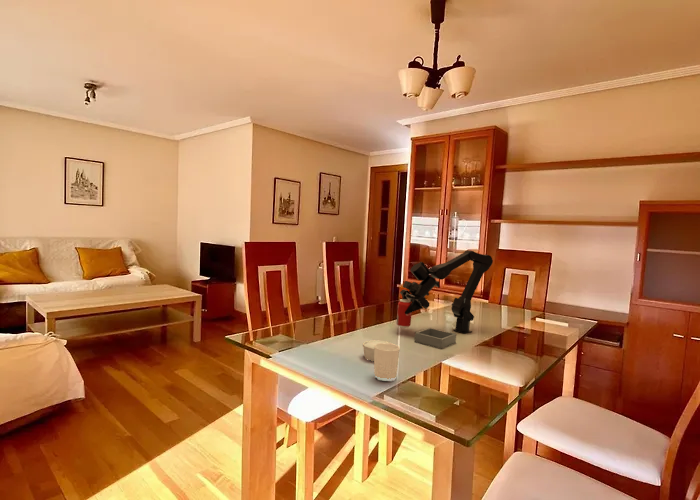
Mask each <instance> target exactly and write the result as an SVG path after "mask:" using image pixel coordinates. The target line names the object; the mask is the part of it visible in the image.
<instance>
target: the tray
mask: <svg viewBox="0 0 700 500" xmlns="http://www.w3.org/2000/svg"><path fill="white" fill-rule="evenodd" d="M456 341H457V334H456V333H453V332H449V331H444V330H440V329H436V328H433V327H428V328H425V329H423V330H419V331H416V332H414V343H416V344H421V345H424V346H429V347H432V348H435V349H439V350H443V349H446V348H448V347H451V346H452V345H455V344H457V343H456Z"/></svg>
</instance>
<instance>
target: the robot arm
mask: <svg viewBox="0 0 700 500" xmlns="http://www.w3.org/2000/svg"><path fill="white" fill-rule="evenodd" d="M469 261H471V262H472V269H473V270H472V271H471V274H470V276H469V278H468V280H467V283H466V285H465V287H464V289H463V291H462V293H461V294H460V296H459V297H458V298H457V297H455V298H454V299H453V302H452V303H451V304H450V305H451V308H450V309H451V312H452V313H453V317H454V318H456V321H455V328H454V329H452V330H453V331H455V332H458V333H461V334H469V333H470V334H471V333H472V332H473V330H470V326H471V322H472V321H474V319H475V316H474V314H473V313H472V312H471V308H472V298H473V296H474V294H475V292H476V290H477V288H478V287H479V283H480V281H481V279H482V278H483V276H484V274H485V273H486V272H487V271H488V270H490V268H491V267H492V265H493V262H494V260H493V257H492V256H491V255H490V254H482V253H479V252H475V251H474V250H465V251H464V252H463V253H461V254H459V255H457V256H455V257H453V258H452V259H449V260H448V261H446V262H445V263H439V264H435V265H432V267H430V268H428V267H427V266H426V264H425V263H424V262H423V261H419V262H418V263H416V264H414V265H413V266H412V267H411V268H410V272H411V274H412V275H413V276H414V278H416V279H417V280H418V281H420V282H419V283H418V282H416V281H412V282H410V281H408V280H405V281H404V283H403V285H402V288H404V289H401V290H400V291H399V293H400V295H401V298H402V299H407V300H410V301H411V304H410V306H409V307H408V308H407V310H406V311H405V314H409V313H411V312H412V313H414V312H416V311H419V310H422V309H425V310H427V309H428V308H429V307H430V302H429V301H428V299H427V298H426V296H430V292H431V290H433V288H434V287H436V288H440V285H441V284H440V281H441V280H444V279H446V278H447V277H449V276H450V274H451V273H452V271H453V270H455V269H457V268H459V267H460V266H463V265H464V264H467V262H469ZM436 279H438V280H440V281H438V280H436ZM412 313H411V314H412Z"/></svg>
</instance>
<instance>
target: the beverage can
mask: <svg viewBox="0 0 700 500" xmlns="http://www.w3.org/2000/svg"><path fill="white" fill-rule="evenodd" d="M411 303H412V302H411V301H410V300H407V299H399V301H398V303H397V312H396V313H397V314H396V325H397V326H398V328H401V329H408V328H409V327H411V324H412V313H413V312H411V313H409V314H405V311H406V310H407V308H408V307H409V306H410V304H411Z"/></svg>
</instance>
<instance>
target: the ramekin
mask: <svg viewBox="0 0 700 500" xmlns="http://www.w3.org/2000/svg"><path fill="white" fill-rule="evenodd" d="M378 343H390V344H393V343H392V342H390V341H386V340H378V339H375V340H374V339H373V340H367V341H364V342H363V343H362V347H363V355H364V358H365V360H367V359H368V360H371V361H374V346H375V345H376V344H378ZM368 360H367V361H368ZM371 361H370V362H371Z"/></svg>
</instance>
